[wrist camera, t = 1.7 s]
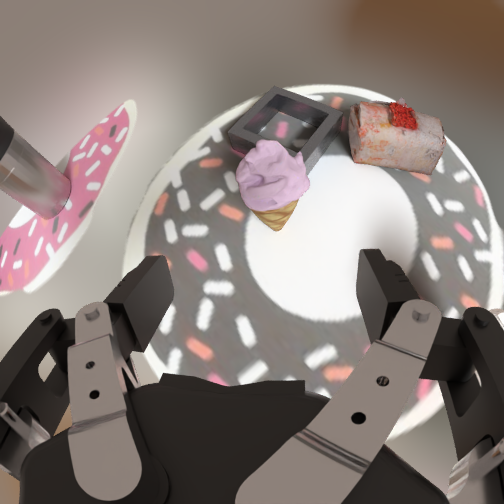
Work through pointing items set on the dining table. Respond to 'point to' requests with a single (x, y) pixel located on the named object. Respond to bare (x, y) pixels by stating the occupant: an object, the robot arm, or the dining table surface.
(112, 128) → the dining table surface
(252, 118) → the hollow square frame
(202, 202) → the dining table surface
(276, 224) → the ice cream cone
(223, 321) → the dining table surface
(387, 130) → the food item
